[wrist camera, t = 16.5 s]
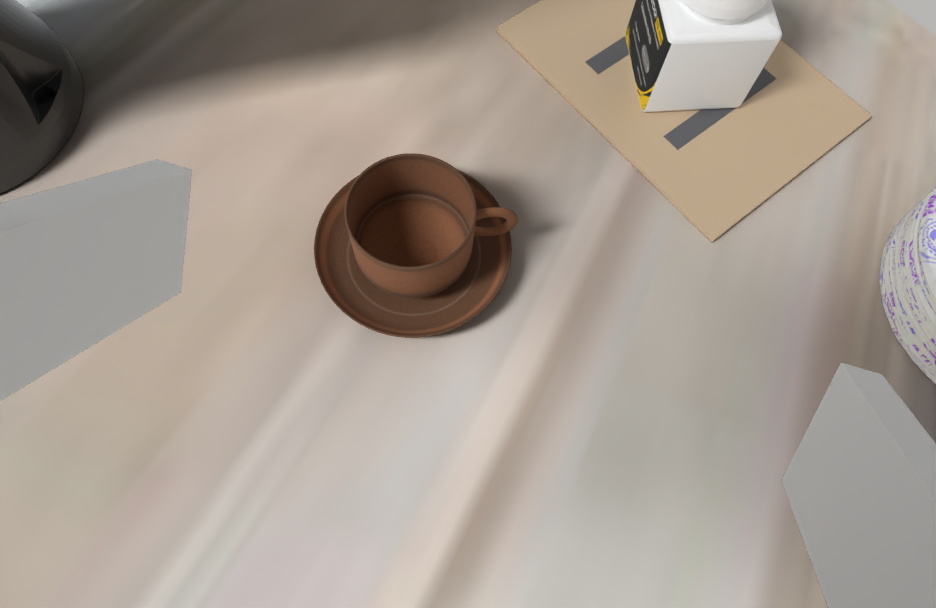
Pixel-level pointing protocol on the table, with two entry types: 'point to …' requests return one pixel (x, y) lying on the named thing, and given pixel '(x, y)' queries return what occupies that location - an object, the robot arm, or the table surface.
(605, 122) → the letter card
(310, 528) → the table surface
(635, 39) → the medicine bottle
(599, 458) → the table surface
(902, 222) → the paper bowls
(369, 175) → the cup and saucer
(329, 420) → the table surface
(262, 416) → the table surface
